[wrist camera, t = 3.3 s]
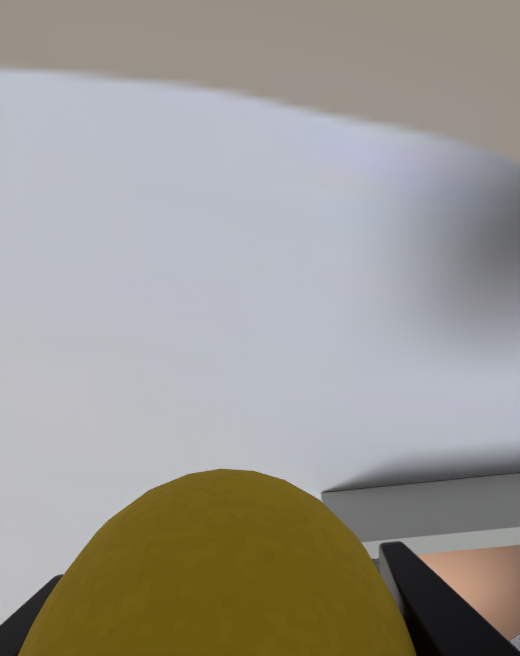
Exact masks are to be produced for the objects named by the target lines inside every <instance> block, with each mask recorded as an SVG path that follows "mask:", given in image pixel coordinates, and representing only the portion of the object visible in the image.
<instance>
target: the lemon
mask: <svg viewBox="0 0 520 656" xmlns="http://www.w3.org/2000/svg"><path fill="white" fill-rule="evenodd" d="M18 656H417V655H416V652H415V648H414V645H413V642H412V640H411V637H410V634H409V632H408V629H407V626H406V624H405V621H404V619H403V617H402V615H401V612H400V610H399V608H398V606H397V604H396V602H395V600H394V598H393V596H392V594H391V592H390V591H389V589H388V587H387V585H386V583H385V582H384V580H383V578H382V576H381V575H380V573H379V571H378V569H377V568H376V566H375V564H374V562H373V561H372V559H371V557H370V555H369V554H368V552H367V550H366V548H365V547H364V546H363V544H362V543H361V542H360V540H359V539H358V538H357V536H356V535H355V534H354V533H353V532H352V531H351V530H350V529H349V528H348V527H347V526H346V525H345V524H344V523H343V522H342V521H341V520H340V519H339V518H338V517H337V516H336V515H335V514H334V513H333V512H332V511H331V510H330V509H329V508H328V507H327V506H326V505H325V504H324V503H323V502H322V501H320V500H319V499H317V498H315V497H314V496H312V495H310V494H308V493H307V492H305V491H303V490H301V489H300V488H298V487H296V486H294V485H292V484H291V483H289V482H287V481H285V480H283V479H279V478H276V477H272V476H269V475H266V474H262V473H259V472H255V471H246V470H231V469H217V470H211V471H204V472H198V473H192V474H188V475H185V476H183V477H180V478H178V479H175V480H173V481H170V482H168V483H165V484H163V485H160V486H158V487H156V488H153V489H151V490H149V491H147V492H146V493H145V494H143V495H142V496H141V497H139V498H138V499H137V500H135V501H134V502H132V503H131V504H130V505H128V506H127V507H126V508H124V509H123V510H122V511H120V512H119V513H117V514H116V515H115V516H113V517H112V518H111V519H109V520H108V521H107V522H106V523H105V524H104V525H103V526H102V527H101V528H100V529H99V530H98V531H97V532H96V534H95V535H94V536H93V537H92V539H91V540H90V541H89V542H88V544H87V545H86V546H85V547H84V549H83V550H82V551H81V553H80V554H79V555H78V557H77V558H76V559H75V561H74V562H73V563H72V564H71V566H70V567H69V568H68V570H67V571H66V572H65V574H64V575H63V576H62V578H61V579H60V580H59V582H58V583H57V585H56V586H55V588H54V589H53V591H52V592H51V594H50V595H49V597H48V598H47V600H46V601H45V603H44V605H43V607H42V608H41V610H40V612H39V614H38V616H37V617H36V619H35V621H34V623H33V624H32V626H31V628H30V631H29V633H28V635H27V637H26V639H25V641H24V643H23V646H22V648H21V650H20V652H19V654H18Z"/></svg>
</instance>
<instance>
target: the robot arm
mask: <svg viewBox="0 0 520 656" xmlns="http://www.w3.org/2000/svg"><path fill="white" fill-rule="evenodd" d="M379 567H380V575H381V576H382V578H383V580H384V582H385V583H386V585H387V587H388V589H389V591H390V592H391V594H392V596H393V598H394V600H395V602H396V604H397V606H398V608H399V610H400V612H401V615H402V617H403V619H404V621H405V624H406V626H407V629H408V632H409V634H410V637H411V640H412V642H413V645H414V648H415V652H416V655H417V656H520V651H519V650H518V649H517V648H516V647H515V646H514V645H513V644H512V643H511V642H509V641H508V640H507V639H506V638H505V637H504V636H503V635H502V634H501V633H500V632H499V631H498V630H497V629H495V628H494V627H493V626H492V625H491V624H490V623H489V622H488V621H487V620H486V619H485V618H484V617H483V616H482V615H480V614H479V613H478V612H477V611H476V610H475V609H474V608H473V607H472V606H471V605H470V604H469V603H468V602H466V601H465V600H464V599H463V598H462V597H461V596H460V595H459V594H458V593H457V592H456V591H455V590H454V589H453V588H451V587H450V586H449V585H448V584H447V583H446V582H445V581H444V580H443V579H442V578H441V577H440V576H439V575H437V574H436V573H435V572H434V571H433V570H432V569H431V568H430V567H429V566H428V565H427V564H426V563H425V562H424V561H422V560H421V559H420V558H419V557H418V556H417V555H416V554H415V553H414V552H413V551H412V550H411V549H410V548H408V547H407V546H406V545H405V544H404V543H403V542H401V541H393V542H383V543H381V544H380V545H379ZM63 575H64V574H61V575H57V576H55V577H54V578H52V579H51V580H50V581H49V582H48V583H47V584H46V585H45V586H43V587H42V588H41V589H40V590H39V591H38V592H37V593H36V594H35V595H33V596H32V597H31V598H30V599H29V600H28V601H27V602H26V603H25V604H23V605H22V606H21V607H20V608H19V609H18V610H17V611H16V612H15V613H13V614H12V615H11V616H10V617H9V618H8V619H7V620H6V621H5V622H3V623H2V624H1V625H0V656H18V654H19V652H20V650H21V648H22V646H23V643H24V641H25V639H26V637H27V635H28V633H29V631H30V628H31V626H32V624H33V623H34V621H35V619H36V617H37V616H38V614H39V612H40V610H41V608H42V607H43V605H44V603H45V601H46V600H47V598H48V597H49V595H50V594H51V592H52V591H53V589H54V588H55V586H56V585H57V583H58V582H59V580H60V579H61V578H62V576H63Z"/></svg>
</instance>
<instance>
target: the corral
mask: <svg viewBox="0 0 520 656" xmlns="http://www.w3.org/2000/svg"><path fill="white" fill-rule="evenodd" d="M321 501H322V502H323V503H324V504H325V505H326V506H327V507H328V508H329V509H330V510H331V511H332V512H333V513H334V514H335V515H336V516H337V517H338V518H339V519H340V520H341V521H342V522H343V523H344V524H345V525H346V526H347V527H348V528H349V529H350V530H351V531H352V532H353V533H354V534H355V535H356V536H357V538H358V539H359V540H360V542H361V543H362V544H363V546H364V547H365V548H366V550H367V552H368V554H369V555H370V557H371V559H376V558H379V545H380V544H381V543H383V542H393V541H401V542H403V543H404V544H405V545H406V546H407V547H408V548H410V549H411V550H412V551H413V552H414V553H415V554H416V555H417V556H418V557H419V558H420V559H421V560H422V561H424V562H425V563H426V564H427V565H428V566H429V567H430V568H431V569H432V570H433V571H434V572H435V573H436V574H437V575H439V576H440V577H441V578H442V579H443V580H444V581H445V582H446V583H447V584H448V585H449V586H450V587H451V588H453V589H454V590H455V591H456V592H457V593H458V594H459V595H460V596H461V597H462V598H463V599H464V600H465V601H466V602H468V603H469V604H470V605H471V606H472V607H473V608H474V609H475V610H476V611H477V612H478V613H479V614H480V615H482V616H483V617H484V618H485V619H486V620H487V621H488V622H489V623H490V624H491V625H492V626H493V627H494V628H495V629H497V630H498V631H499V632H500V633H501V634H502V635H503V636H504V637H505V638H506V639H507V640H508V641H510V640H512V639H513V638H515V637H516V636H517V635H519V634H520V473H515V474H505V475H495V476H485V477H475V478H466V479H456V480H446V481H436V482H426V483H416V484H406V485H396V486H386V487H376V488H366V489H356V490H346V491H336V492H326V493H321Z"/></svg>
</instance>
